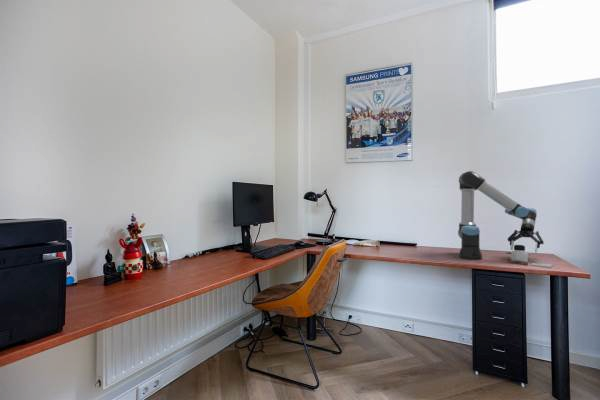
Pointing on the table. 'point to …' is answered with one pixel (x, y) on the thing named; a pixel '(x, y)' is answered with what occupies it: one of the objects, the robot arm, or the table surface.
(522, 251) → the medicine bottle
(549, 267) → the grey mat
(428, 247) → the table surface
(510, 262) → the walnut stop
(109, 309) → the table surface
